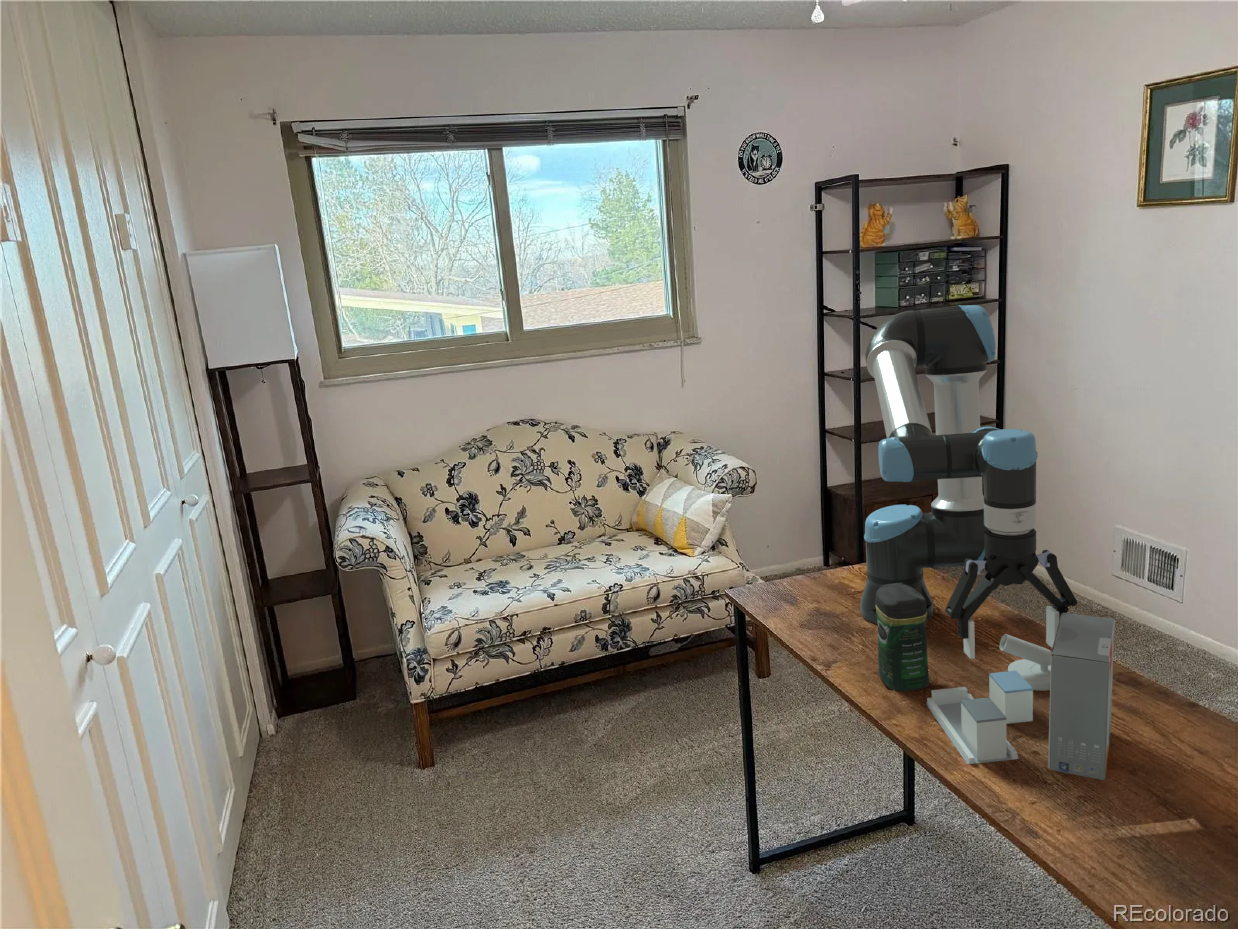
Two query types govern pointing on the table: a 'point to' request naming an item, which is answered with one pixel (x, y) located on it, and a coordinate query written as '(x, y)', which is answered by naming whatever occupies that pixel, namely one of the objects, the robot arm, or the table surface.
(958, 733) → the rail
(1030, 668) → the wall hook
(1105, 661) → the hard drive box
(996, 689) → the module
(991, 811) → the table surface
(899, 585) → the coffee jar
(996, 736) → the block
